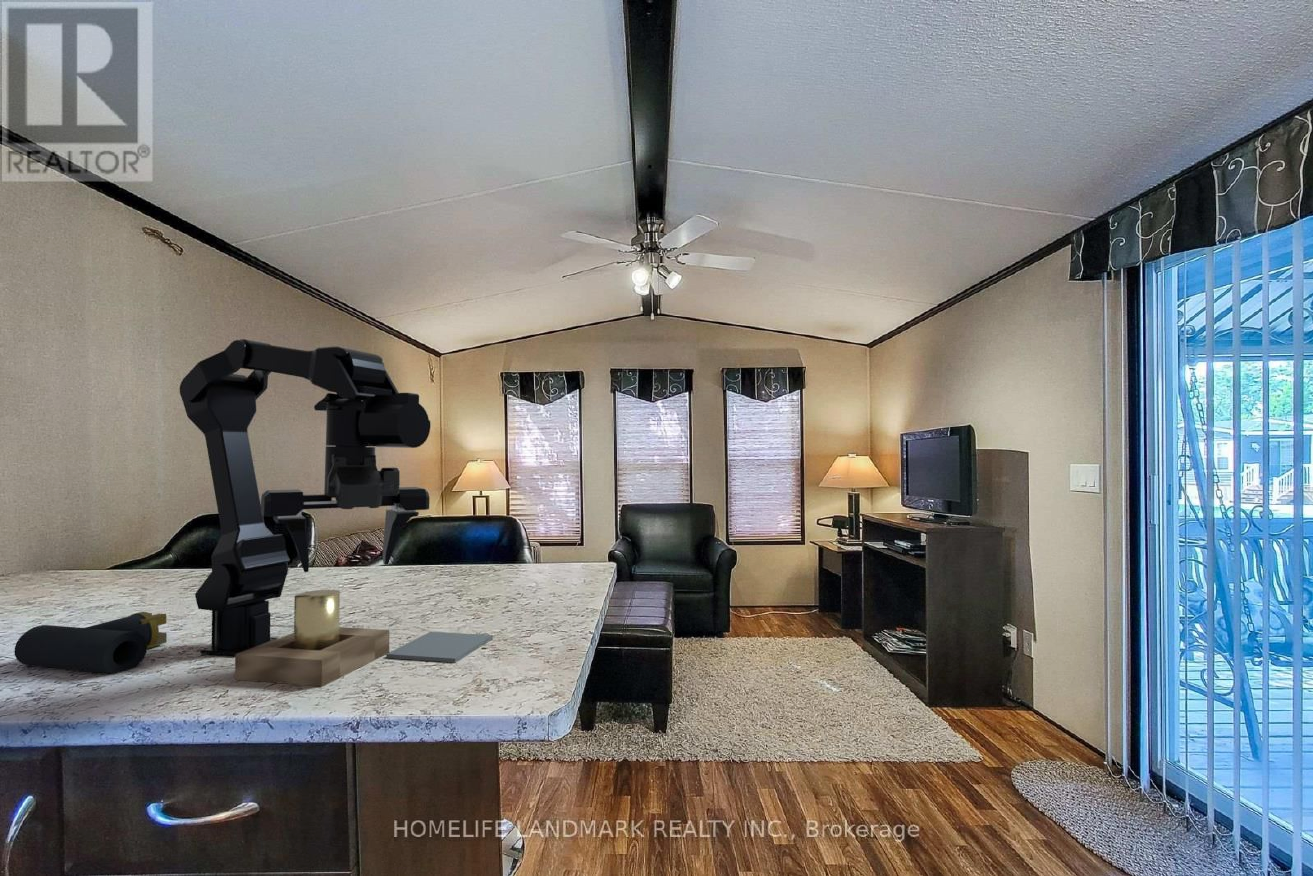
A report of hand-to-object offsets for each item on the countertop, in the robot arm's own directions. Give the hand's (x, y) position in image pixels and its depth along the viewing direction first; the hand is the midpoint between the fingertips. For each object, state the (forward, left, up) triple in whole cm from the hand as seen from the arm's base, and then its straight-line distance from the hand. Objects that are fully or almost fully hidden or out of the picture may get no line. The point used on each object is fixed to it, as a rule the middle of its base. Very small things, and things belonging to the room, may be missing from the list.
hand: (347, 567), depth 76 cm
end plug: (-3, -1, -12) cm, 13 cm away
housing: (-3, -1, -12) cm, 13 cm away
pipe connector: (-33, -4, -13) cm, 36 cm away
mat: (+9, +8, -12) cm, 17 cm away
